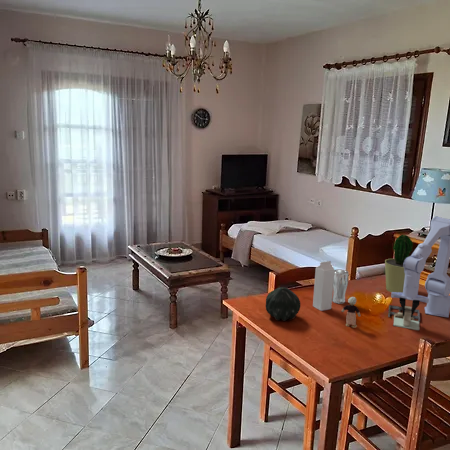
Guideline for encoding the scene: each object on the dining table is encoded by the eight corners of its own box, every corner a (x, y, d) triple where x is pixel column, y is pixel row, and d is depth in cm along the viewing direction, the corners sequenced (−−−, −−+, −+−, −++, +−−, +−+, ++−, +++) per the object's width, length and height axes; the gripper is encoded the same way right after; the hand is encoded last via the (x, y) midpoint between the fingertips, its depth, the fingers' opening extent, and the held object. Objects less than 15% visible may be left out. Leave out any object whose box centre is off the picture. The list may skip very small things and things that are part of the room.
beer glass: (346, 304, 205) (349, 274, 202) (331, 303, 206) (333, 273, 203) (345, 299, 211) (348, 269, 208) (330, 297, 213) (333, 268, 210)
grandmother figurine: (359, 325, 184) (362, 296, 181) (359, 328, 180) (362, 300, 178) (340, 322, 186) (343, 294, 183) (339, 325, 183) (342, 297, 180)
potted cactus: (388, 295, 218) (395, 237, 212) (377, 284, 233) (383, 229, 227) (419, 296, 218) (426, 238, 212) (406, 285, 233) (413, 230, 227)
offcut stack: (413, 319, 192) (414, 314, 191) (413, 322, 189) (414, 317, 188) (394, 316, 195) (394, 311, 194) (393, 318, 192) (394, 313, 192)
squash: (287, 295, 200) (273, 275, 192) (311, 307, 188) (297, 287, 180) (268, 319, 196) (252, 300, 188) (291, 333, 185) (276, 314, 176)
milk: (312, 306, 202) (315, 260, 198) (323, 304, 205) (326, 259, 200) (321, 311, 197) (324, 264, 192) (331, 309, 200) (335, 262, 195)
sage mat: (418, 322, 188) (418, 321, 188) (419, 330, 181) (419, 329, 180) (393, 318, 191) (394, 317, 191) (393, 325, 184) (393, 324, 184)
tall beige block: (409, 319, 188) (411, 306, 187) (409, 326, 182) (411, 313, 181) (403, 318, 189) (405, 305, 188) (403, 325, 183) (404, 311, 182)
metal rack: (418, 312, 199) (419, 309, 199) (419, 322, 188) (420, 319, 188) (389, 307, 203) (389, 304, 203) (388, 317, 193) (388, 314, 192)
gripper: (392, 285, 181) (388, 316, 184) (430, 291, 176) (426, 322, 179) (392, 280, 188) (389, 310, 190) (429, 285, 182) (425, 316, 185)
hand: (407, 315), depth 185 cm, fingers closed on tall beige block, 2 cm apart
